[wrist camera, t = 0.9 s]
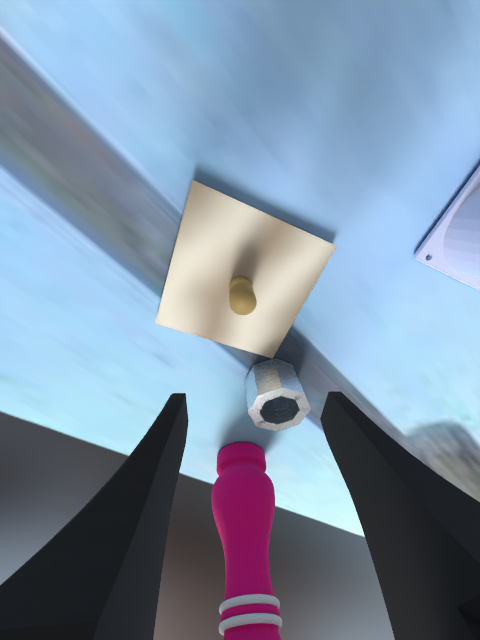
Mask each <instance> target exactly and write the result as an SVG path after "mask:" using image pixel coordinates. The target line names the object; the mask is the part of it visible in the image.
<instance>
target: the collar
mask: <svg viewBox="0 0 480 640" xmlns="http://www.w3.org/2000/svg"><path fill="white" fill-rule="evenodd" d="M245 388H246V398H247V407H248V413H249V415H250V417H251V418H252V420H253V421H254V423H255V425H256V426H257V427H260V428H264V429H269V430H273V431H280V430H283V429H286V428H289V427H293V426H296V425H299V424H300V422H301V421H302V420H303V419H304V417H305V416H306V415H307V413H308V412H309V411H310V406H309V404H308V401H307V399H306V396H305V394H304V391H303V389H302V386H301V384H300V382H299V379H298V377H297V374H296V372H295V369H294V367H293V365H292V363H289V362H285V361H282V360H279V359H275V358H271V359H268V360H266V361H263V362H260V363H257V364H255V365H253V366H252V368H251V370H250V372H249V373H248V375H247V377H246V379H245Z"/></svg>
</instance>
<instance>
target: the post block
mask: <svg viewBox="0 0 480 640" xmlns="http://www.w3.org/2000/svg"><path fill="white" fill-rule="evenodd" d="M336 247H337V246H336V245H334V244H331V243H329V242H327V241H325V240H323V239H321V238H318V237H316V236H314V235H312V234H310V233H307V232H305V231H303V230H301V229H299V228H297V227H294V226H292V225H290V224H288V223H286V222H283V221H281V220H279V219H277V218H275V217H273V216H270V215H268V214H266V213H264V212H262V211H260V210H257V209H255V208H253V207H251V206H249V205H246V204H244V203H242V202H240V201H238V200H236V199H233V198H231V197H229V196H227V195H225V194H222V193H220V192H218V191H216V190H214V189H212V188H209V187H207V186H205V185H203V184H201V183H199V182H196V181H194V180H192V183H191V187H190V191H189V194H188V198H187V202H186V206H185V210H184V214H183V218H182V222H181V225H180V229H179V233H178V237H177V241H176V245H175V249H174V252H173V256H172V260H171V264H170V268H169V272H168V276H167V280H166V283H165V287H164V291H163V295H162V299H161V303H160V307H159V310H158V314H157V318H156V322H155V323H156V324H159V325H162V326H166V327H169V328H172V329H176V330H179V331H182V332H186V333H189V334H192V335H196V336H199V337H202V338H206V339H209V340H212V341H216V342H219V343H222V344H226V345H229V346H232V347H236V348H239V349H242V350H246V351H249V352H252V353H256V354H259V355H262V356H266V357H269V358H273V357H274V355H275V353H276V352H277V350H278V348H279V346H280V345H281V343H282V341H283V339H284V338H285V336H286V334H287V332H288V331H289V329H290V327H291V325H292V324H293V322H294V320H295V318H296V317H297V315H298V313H299V311H300V310H301V308H302V306H303V304H304V303H305V301H306V299H307V297H308V296H309V294H310V292H311V290H312V289H313V287H314V285H315V283H316V282H317V280H318V278H319V276H320V275H321V273H322V271H323V269H324V268H325V266H326V264H327V263H328V261H329V259H330V257H331V256H332V254H333V252H334V250H335V249H336Z"/></svg>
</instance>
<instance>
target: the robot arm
mask: <svg viewBox="0 0 480 640" xmlns="http://www.w3.org/2000/svg"><path fill="white" fill-rule="evenodd" d="M427 255H428V257H427V258H426V256H427ZM414 257H415V259H416V260H418V261H420V262H422V263H424V264H426V265H428V266H430V267H432V268H434V269H436V270H438V271H440V272H442V273H444V274H446V275H448V276H450V277H452V278H454V279H456V280H459V281H461V282H463V283H465V284H467V285H469V286H471V287H473V288H475V289H477V290H479V291H480V165H479V167H478V168H477V170H476V171H475V172H474V174H473V175H472V176H471V178H470V179H469V180H468V182H467V183H466V185H465V186H464V187H463V189H462V190H461V191H460V193H459V194H458V195H457V197H456V198H455V199H454V201H453V202H452V204H451V205H450V206H449V208H448V209H447V210H446V212H445V213H444V214H443V216H442V217H441V219H440V220H439V221H438V223H437V224H436V225H435V227H434V228H433V229H432V231H431V232H430V233H429V235H428V236H427V238H426V239H425V240H424V242H423V243H422V244H421V246H420V247H419V248H418V250H417V251H416V253H415V256H414ZM320 420H321V423H322V426H323V430H324V433H325V436H326V439H327V442H328V444H329V446H330V449H331V451H332V453H333V456H334V458H335V460H336V462H337V465H338V467H339V469H340V472H341V474H342V476H343V478H344V481H345V483H346V485H347V487H348V490H349V492H350V495H351V497H352V500H353V502H354V505H355V508H356V511H357V514H358V517H359V520H360V523H361V525H362V528H363V531H364V535H365V538H366V541H367V544H368V547H369V550H370V553H371V556H372V560H373V563H374V566H375V570H376V573H377V576H378V580H379V583H380V586H381V590H382V593H383V597H384V600H385V604H386V608H387V611H388V615H389V619H390V622H391V626H392V630H393V634H394V638H395V640H480V502H478V501H477V500H475V499H474V498H472V497H471V496H469V495H468V494H466V493H465V492H463V491H462V490H460V489H459V488H457V487H456V486H454V485H453V484H451V483H450V482H448V481H447V480H445V479H444V478H443V477H441V476H440V475H438V474H437V473H436V472H434V471H433V470H431V469H430V468H429V467H427V466H426V465H425V464H423V463H422V462H421V461H420V460H418V459H417V458H416V457H414V456H413V455H412V454H410V453H409V452H408V451H407V450H405V449H404V448H403V447H402V446H401V445H399V444H398V443H397V442H396V441H395V440H393V439H392V438H391V437H390V436H389V435H387V434H386V433H385V432H384V431H383V430H382V429H381V428H379V427H378V426H377V425H376V424H375V423H374V422H373V421H372V420H371V419H369V418H368V417H367V416H366V415H365V414H364V413H363V412H362V411H361V410H360V409H359V408H358V407H357V406H356V405H354V404H353V403H352V402H351V401H350V400H349V399H348V398H347V397H346V396H345V395H344V394H343V393H341V392H329V393H328V396H327V399H326V402H325V406H324V409H323V412H322V415H321V418H320ZM187 428H188V414H187V404H186V394H185V393H173V394H172V395H170V397H169V399H168V401H167V403H166V404H165V406H164V408H163V409H162V411H161V412H160V414H159V415H158V417H157V419H156V420H155V422H154V423H153V424H152V426H151V427H150V429H149V430H148V432H147V433H146V435H145V436H144V437H143V439H142V440H141V441H140V443H139V444H138V445H137V447H136V448H135V449H134V451H133V452H132V453H131V454H130V456H129V457H128V458H127V459H126V461H125V462H124V463H123V464H122V466H121V467H120V468H119V469H118V470H117V472H116V473H115V474H114V475H113V476H112V477H111V478H110V480H109V481H108V482H107V483H106V484H105V485H104V486H103V487H102V488H101V490H100V491H99V492H98V493H97V494H96V495H95V496H94V497H93V498H92V499H91V500H90V501H89V502H88V504H86V506H85V507H84V508H83V509H82V510H81V511H80V512H79V513H78V514H77V515H76V516H75V517H73V518H72V519H71V520H70V521H69V523H67V524H66V525H65V526H64V527H63V528H62V529H61V530H60V531H59V532H58V533H57V534H56V535H55V536H54V537H53V538H52V539H51V540H50V541H49V542H48V543H47V544H46V545H45V546H44V547H42V548H41V549H40V550H39V551H38V552H37V553H36V554H35V555H34V556H32V557H31V559H29V560H28V561H27V562H26V563H25V564H24V565H23V566H22V567H20V568H19V569H18V570H17V571H16V572H15V573H14V574H13V575H12V576H10V578H8V579H7V580H6V581H5V582H4V583H3V584H1V585H0V640H153V635H154V627H155V618H156V611H157V603H158V596H159V588H160V580H161V573H162V566H163V558H164V552H165V544H166V538H167V531H168V524H169V518H170V511H171V506H172V501H173V496H174V491H175V487H176V483H177V479H178V474H179V470H180V466H181V461H182V457H183V453H184V448H185V444H186V436H187Z"/></svg>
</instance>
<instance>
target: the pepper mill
mask: <svg viewBox="0 0 480 640" xmlns="http://www.w3.org/2000/svg"><path fill="white" fill-rule="evenodd" d="M265 470H266V461H265V455H264V452H263V450H262V449H261V448H260V447H259V446H258V445H256V444H253V443H248V442H237V443H233V444H230V445H227V446H226V447H224V448H223V449H222V450H221V451H220V452H219V454H218V456H217V473H218V475H219V477H218V478H217V480H216V482H215V483H214V485H213V488H212V509H213V514H214V518H215V522H216V525H217V528H218V531H219V534H220V537H221V541H222V544H223V549H224V555H225V563H226V587H225V601H224V602H223V603H222V604H221V605H220V608H219V612H220V614H221V618H220V619H221V623H220V626H219V632H220V633H221V634H222V635H223V636H224V640H281V639H280V636H279V633H278V630H279V629H280V628H281V627H282V620H281V618H280V617H279V614H280V612H279V606H280V603H279V600H278V599H277V598H276V597H274V595H273V589H272V584H271V579H270V572H269V560H268V549H269V537H270V530H271V526H272V521H273V516H274V509H275V495H274V486H273V483H272V481H271V479H270V478H269V477H268V476H267V474H266V473H264V472H265Z"/></svg>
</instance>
